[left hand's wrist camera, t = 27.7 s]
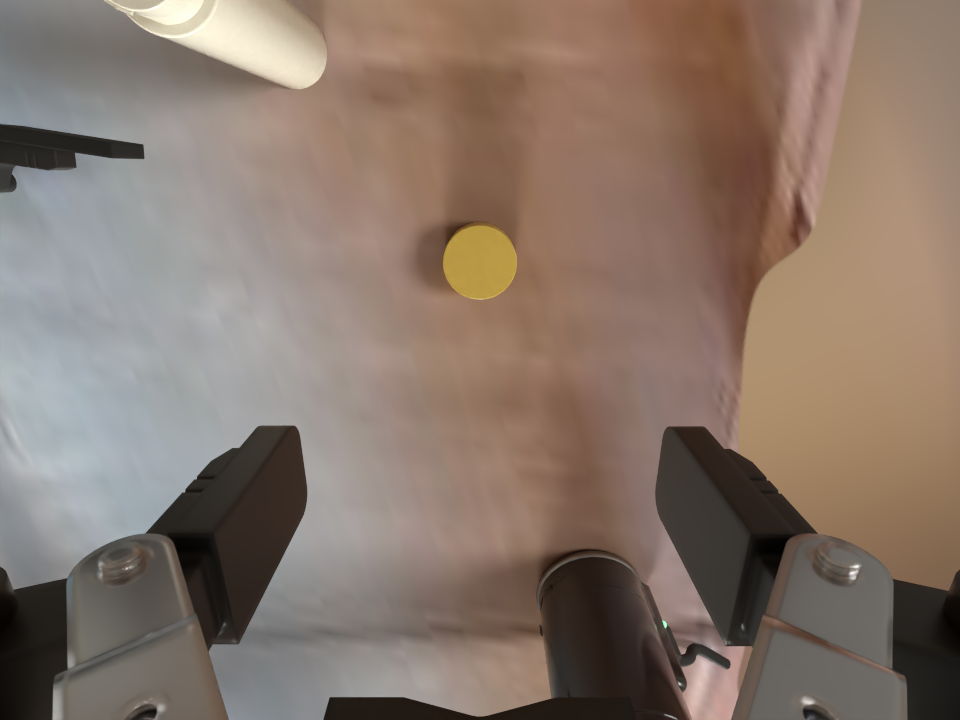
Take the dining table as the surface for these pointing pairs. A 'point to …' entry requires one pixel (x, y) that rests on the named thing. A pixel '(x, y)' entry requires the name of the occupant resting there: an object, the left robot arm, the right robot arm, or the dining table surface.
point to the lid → (479, 260)
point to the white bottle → (239, 34)
